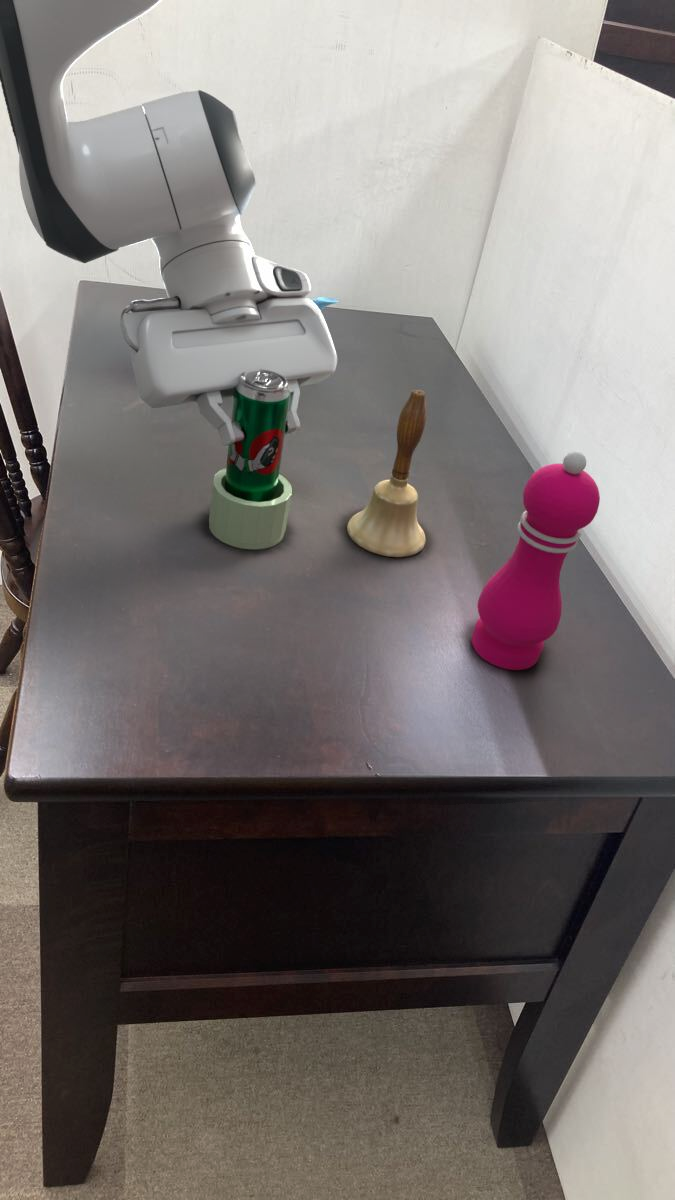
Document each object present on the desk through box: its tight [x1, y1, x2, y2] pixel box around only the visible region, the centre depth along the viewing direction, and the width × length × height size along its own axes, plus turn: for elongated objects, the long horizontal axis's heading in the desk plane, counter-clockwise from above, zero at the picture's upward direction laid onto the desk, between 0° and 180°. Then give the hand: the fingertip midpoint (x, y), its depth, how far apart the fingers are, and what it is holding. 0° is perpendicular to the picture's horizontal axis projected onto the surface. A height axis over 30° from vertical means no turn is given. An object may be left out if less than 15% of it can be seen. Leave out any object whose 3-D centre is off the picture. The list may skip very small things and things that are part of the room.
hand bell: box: [346, 389, 427, 558], centre depth 88 cm, size 8×8×16 cm
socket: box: [208, 467, 293, 551], centre depth 88 cm, size 8×8×5 cm
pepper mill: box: [471, 450, 601, 671], centre depth 75 cm, size 7×7×20 cm
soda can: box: [225, 369, 290, 502], centre depth 83 cm, size 5×5×12 cm
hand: (263, 437), depth 83 cm, fingers closed on soda can, 5 cm apart
